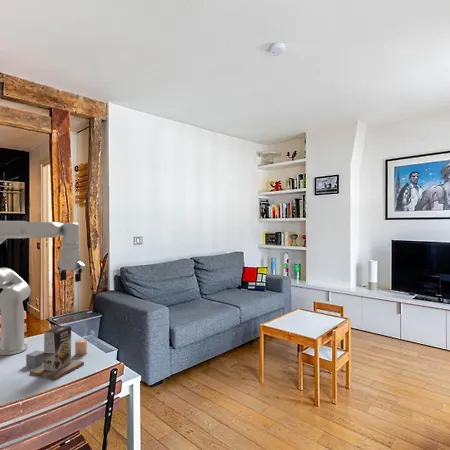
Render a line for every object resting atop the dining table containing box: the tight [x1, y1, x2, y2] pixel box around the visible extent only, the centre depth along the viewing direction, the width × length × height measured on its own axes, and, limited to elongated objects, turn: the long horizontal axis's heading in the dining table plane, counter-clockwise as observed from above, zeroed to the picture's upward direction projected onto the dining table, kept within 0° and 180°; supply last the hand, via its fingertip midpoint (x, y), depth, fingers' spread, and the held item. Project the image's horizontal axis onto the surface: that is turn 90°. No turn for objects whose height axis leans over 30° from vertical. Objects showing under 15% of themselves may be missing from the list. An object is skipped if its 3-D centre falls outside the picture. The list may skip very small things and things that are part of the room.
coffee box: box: [43, 325, 72, 371], centre depth 137 cm, size 9×6×16 cm
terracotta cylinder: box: [74, 339, 88, 357], centre depth 153 cm, size 5×5×6 cm
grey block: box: [25, 349, 44, 369], centre depth 141 cm, size 5×5×5 cm
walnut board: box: [29, 358, 85, 381], centre depth 137 cm, size 14×15×1 cm
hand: (70, 280), depth 161 cm, fingers open, 9 cm apart
